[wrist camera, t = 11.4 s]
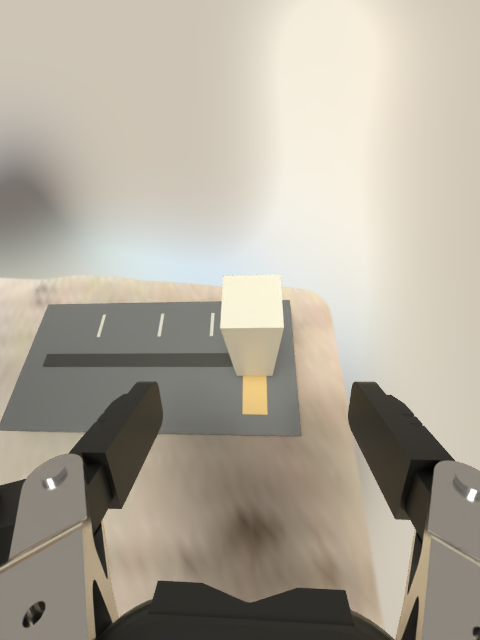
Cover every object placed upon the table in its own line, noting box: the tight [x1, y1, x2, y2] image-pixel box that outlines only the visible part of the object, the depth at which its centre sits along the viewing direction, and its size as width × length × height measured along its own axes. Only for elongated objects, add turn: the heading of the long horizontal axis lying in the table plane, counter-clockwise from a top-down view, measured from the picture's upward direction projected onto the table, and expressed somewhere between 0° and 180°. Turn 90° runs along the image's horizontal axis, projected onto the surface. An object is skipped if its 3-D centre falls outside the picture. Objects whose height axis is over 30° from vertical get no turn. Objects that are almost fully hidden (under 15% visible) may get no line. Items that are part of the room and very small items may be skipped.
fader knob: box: [220, 275, 284, 376], centre depth 17 cm, size 3×3×10 cm
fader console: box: [0, 300, 301, 436], centre depth 23 cm, size 25×12×3 cm, turn 89°
